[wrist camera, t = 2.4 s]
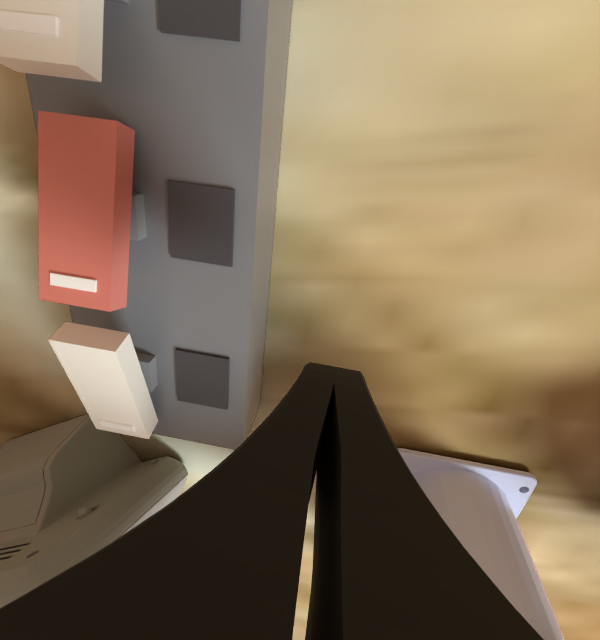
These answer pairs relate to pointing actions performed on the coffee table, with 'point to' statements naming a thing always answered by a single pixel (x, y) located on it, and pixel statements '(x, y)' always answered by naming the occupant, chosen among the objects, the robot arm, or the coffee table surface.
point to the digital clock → (72, 499)
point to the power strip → (193, 196)
